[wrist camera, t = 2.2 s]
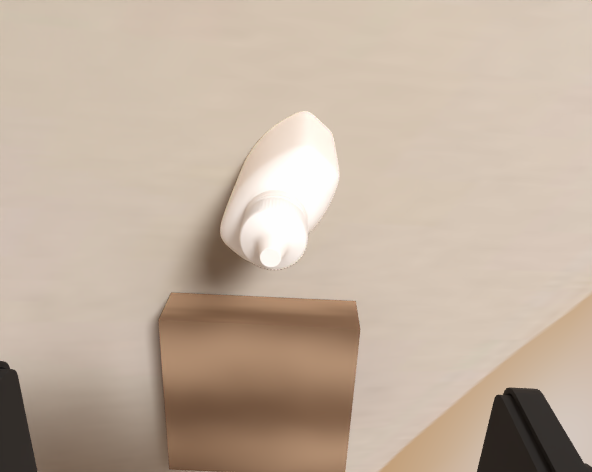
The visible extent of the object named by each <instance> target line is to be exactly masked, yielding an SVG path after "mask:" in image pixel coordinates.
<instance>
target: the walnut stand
mask: <svg viewBox="0 0 592 472" xmlns="http://www.w3.org/2000/svg"><path fill="white" fill-rule="evenodd" d="M158 322H159V335H160V349H161V362H162V376H163V389H164V403H165V417H166V430H167V444H168V457H169V469H174V470H195V471H216V472H345V468H346V459H347V449H348V440H349V430H350V421H351V412H352V402H353V393H354V384H355V374H356V365H357V355H358V346H359V337H360V325H359V319H358V312H357V306H356V301H341V300H320V299H298V298H276V297H255V296H233V295H212V294H190V293H171V294H170V297H169V299H168V301H167V303H166V305H165V307H164V309H163V311H162V314H161V316H160V318H159V320H158Z"/></svg>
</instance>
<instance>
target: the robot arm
mask: <svg viewBox="0 0 592 472" xmlns="http://www.w3.org/2000/svg"><path fill="white" fill-rule="evenodd" d="M0 472H37V468H36V463H35V458H34V453H33V448H32V443H31V438H30V433H29V428H28V424H27V419H26V414H25V409H24V404H23V399H22V394H21V389H20V384H19V379H18V375H17V372H16V371H15V370H13V369H10V367H9V365H8V364H7V363H6V362H4V361H0ZM477 472H592V467H591V466H589V465H588V464H584V463H583V461H582V459H581V458H580V456H579V454H578V453H577V451H576V449H575V447H574V446H573V444H572V442H571V441H570V439H569V437H568V436H567V434H566V432H565V431H564V429H563V427H562V426H561V424H560V422H559V421H558V419H557V417H556V416H555V414H554V412H553V411H552V409H551V407H550V405H549V404H548V402H547V400H546V399H545V397H544V395H543V394H542V393H541V391H540V390H538V389H527V388H506V390H505V391H504V394H503V395H497V396H496V397H495V399H494V403H493V407H492V411H491V415H490V419H489V424H488V428H487V432H486V436H485V440H484V444H483V449H482V453H481V457H480V461H479V465H478V469H477Z"/></svg>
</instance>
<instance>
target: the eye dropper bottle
mask: <svg viewBox="0 0 592 472" xmlns="http://www.w3.org/2000/svg"><path fill="white" fill-rule="evenodd" d="M338 182H339V165H338V159H337V153H336V148H335V142H334V137H333V135H332V133H331V131H330V130H329V129H328V128H327V127H326V126H325V125H324V124H323V123H322V122H321V121H320V120H319V119H318V118H316V117H315V116H314V115H313V114H312V113H310V112H308V111H301V112H298V113H295V114H293V115H291V116H289V117H287V118H285V119H284V120H282V121H280V122H279V123H277V124H276V125H275V126H273V127H272V128H271V129H270V130H268V131H267V132H266V133H265V134H264V135H263V136H262V137H261V138H260V139H259V141H258V142H257V143H256V144H255V146H254V147H253V148H252V150H251V151H250V153H249V155H248V156H247V158H246V160H245V162H244V164H243V166H242V169H241V171H240V174H239V176H238V179H237V181H236V184H235V186H234V189H233V191H232V194H231V196H230V199H229V201H228V204H227V207H226V210H225V212H224V215H223V218H222V222H221V226H220V235H221V238H222V240H223V241H224V243H225V244H226V245H227V246H228V247H229V248H230V249H232V250H233V251H234V252H235V253H237V254H238V255H239V256H240V257H242V258H243V259H245V260H246V261H249V262H251V263H254V265H257V266H258V267H260V268H263V269H267V270H268V269H270V270H279V269H280V270H282V269H285V268H288V267H289V266H291V265H294V263H297V261H298V260H299V259H300V258H301V256H302V255H303V253H304V252H305V250H306V246H307V243H308V234H309V233H310V232H311V231H312V230H313V229H314V228H315V227H316V225H317V224H318V223H319V221H320V220H321V219H322V217H323V216H324V214H325V212H326V211H327V209H328V207H329V205H330V203H331V201H332V199H333V197H334V194H335V192H336V189H337V186H338Z"/></svg>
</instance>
